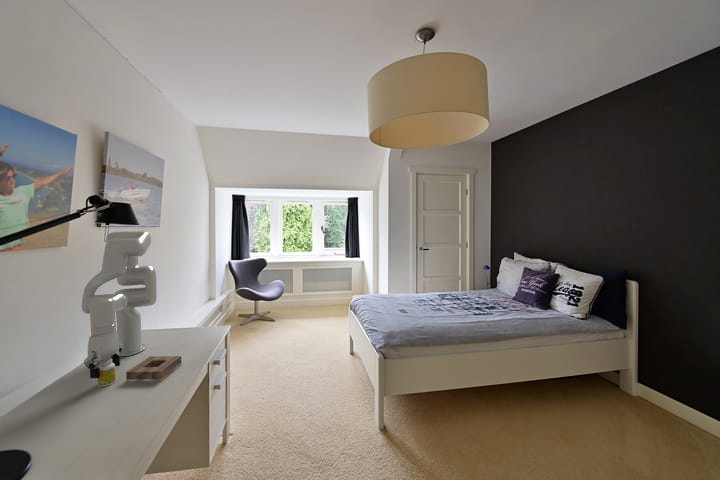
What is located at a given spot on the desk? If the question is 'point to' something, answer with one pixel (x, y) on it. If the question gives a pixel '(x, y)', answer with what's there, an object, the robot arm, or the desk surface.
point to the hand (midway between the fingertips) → (105, 371)
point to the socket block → (153, 368)
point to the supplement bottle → (106, 372)
